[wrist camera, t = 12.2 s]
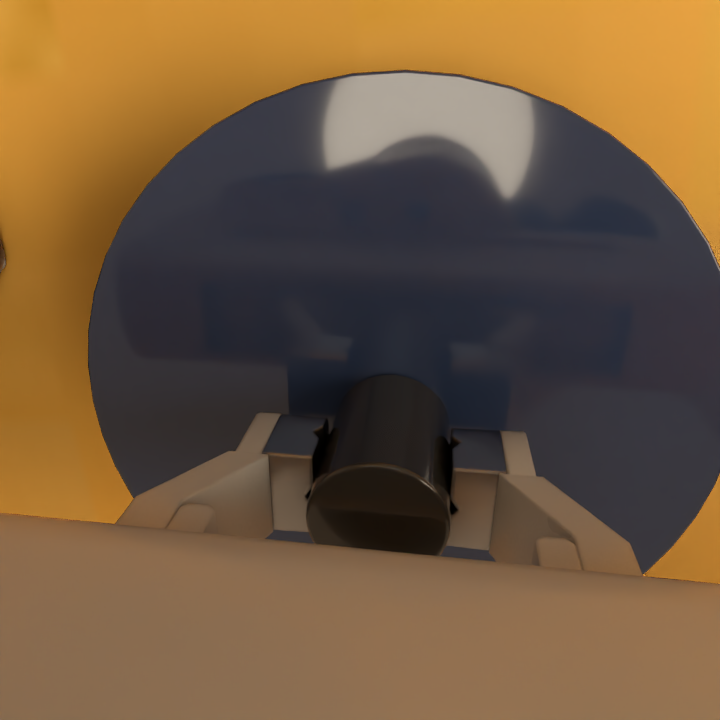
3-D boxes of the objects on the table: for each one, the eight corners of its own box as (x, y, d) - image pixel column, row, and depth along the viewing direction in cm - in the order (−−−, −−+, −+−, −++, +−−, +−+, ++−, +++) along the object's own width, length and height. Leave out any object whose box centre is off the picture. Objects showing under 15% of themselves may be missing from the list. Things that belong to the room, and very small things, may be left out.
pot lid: (852, 432, 14) (1030, 587, 9) (384, 685, 19) (368, 852, 15) (416, -125, 10) (397, -262, 6) (6, 373, 16) (-149, 476, 12)
